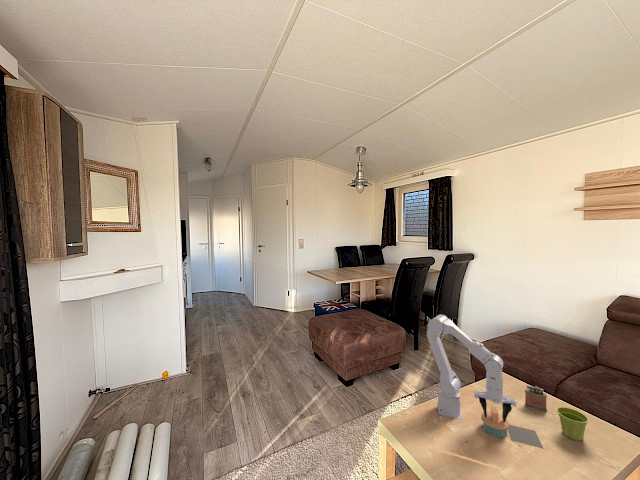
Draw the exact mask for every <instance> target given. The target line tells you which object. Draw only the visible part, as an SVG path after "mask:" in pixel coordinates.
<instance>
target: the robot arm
mask: <svg viewBox="0 0 640 480" xmlns="http://www.w3.org/2000/svg"><path fill="white" fill-rule="evenodd" d="M426 326H427V330H426V338H427V340H428V343H429V346H430V349H431V352H432V354H433V357H434V360H435V362H436V365H437V368H438V371H439V373H440V375H439V376H440V377H439V381H440V390H438V391H437V393H438V394H437V395H438V396H437V399H438V400H437V409H438V410H437V412H438V413H437V414H438V415H439V416H446V417H449V418H454V419H458V420H460V421H462V420H463V419H462V418H463V417H462V410H461V393H460V389H461V388H462V382H461V379H459V377H458V376H457V373H456V372H455V371H454V370H453V369H452V367H451V364H450V361H449V359H448V357H447V353H446V350H445V348H444V346H443V342H442V340H441V338H440V335H441V334H447V335H448V334H449V335H450V334H451V335H452V336H454V338H456V339H457V340H458V341H459V342H461V343H462V344H463V345H465V346H466V347H467V350H468V352H469V353H470V354H471V355H473V356H474V357H475V358H476V359H477V360H479V362H481V364H483V365H484V368H485V370H486V374H485V375H486V376H485V378H486V379H485V380H486V381H485V382H486V384H485V386H486V387H485V388H486V389H485V390H486V391H476V390H474V391H473V397H474V398H475V399H478V401H479V403H480V405H481V408H482V411H483V413H484V416H485V417H486V418H487V412H488V411H487V407H488V406H487V404H488V403H487V400H488V401H491V402H493V403H494V404H498V405H499V404H502V414H501V416H502V419H503V422H506V420H507V418H508V415H509V413H511V412H512V410H513V408H512V406H513V407H517V401H516V399H514V398H511V397H508V396H505V395H503V393H504V392H503V391H504V389H503V387H504V385H503V381H504V379H503V378H504V377H503V368H504V361H503V359H502V358H501V357H500V355H499V354H498V355H497V354H496V353H494V352H491V351H490V350H489V349H487V348H486V347H485V346H484V344H483V343H482V342H479V341H474V340H473V339H471V338H470V337H469V336H468V335H467V334H466V333H464V331H462V329H460V328H459V327H458V326H457V325H456V324H455V322H453V321H452V320H451V319H450V318H448V317H447V316H446V315H445V314H442V313H441V314H438V315H436V316H435V317H434V318H431V319H430V320H429V321H428V323H427V325H426Z"/></svg>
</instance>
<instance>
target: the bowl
mask: <svg viewBox="0 0 640 480" xmlns="http://www.w3.org/2000/svg"><path fill="white" fill-rule="evenodd" d="M482 427H483V430H484V431H486V433H488V434H490V435H491V436H494V437H498V438H504V437H507V436H508V429H506V430H498V429H494V428H492V427H490V426H488V425H486V424H485V423H484V422H483V421H482Z"/></svg>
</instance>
